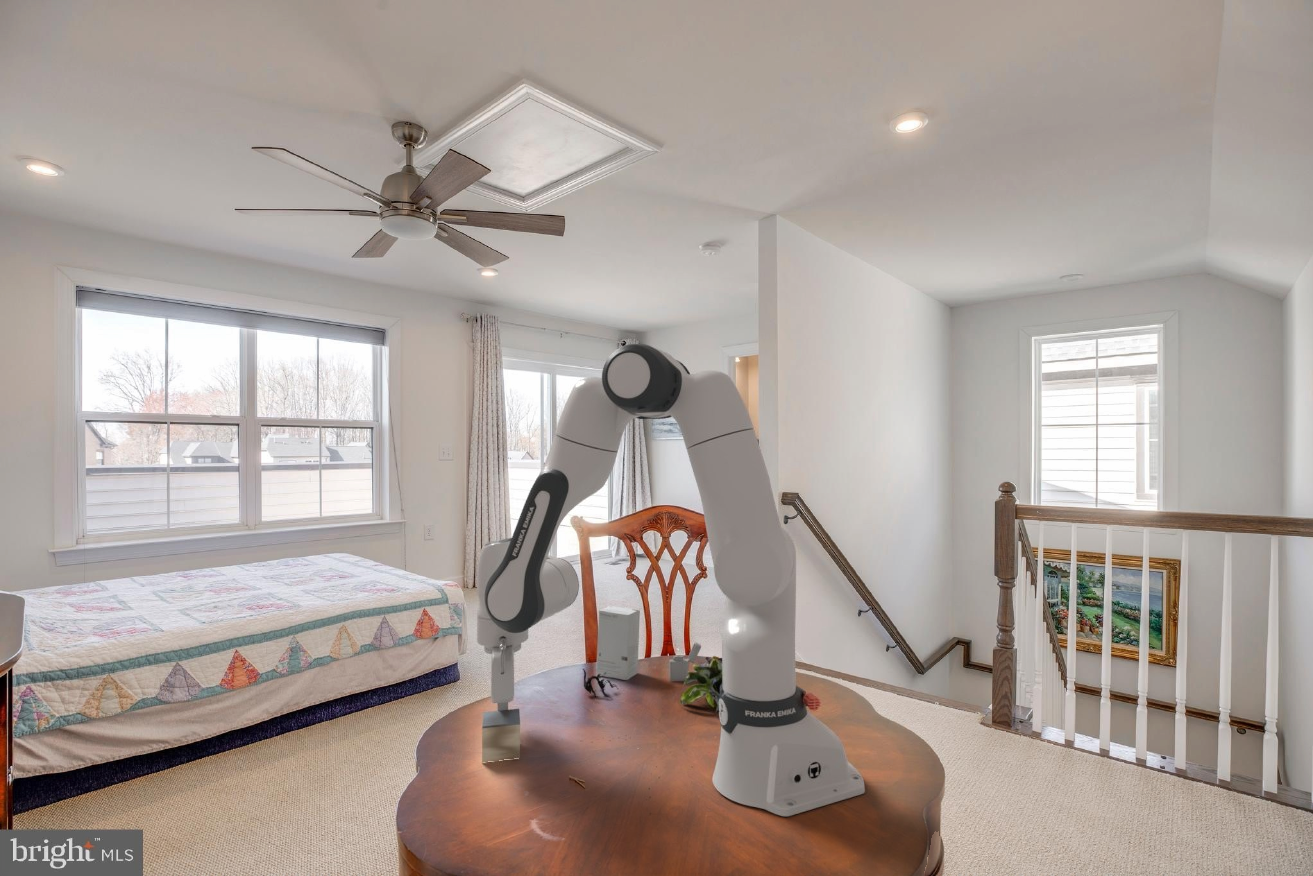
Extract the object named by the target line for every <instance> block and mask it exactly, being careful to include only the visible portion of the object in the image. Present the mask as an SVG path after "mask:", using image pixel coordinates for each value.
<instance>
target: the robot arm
mask: <svg viewBox="0 0 1313 876" xmlns="http://www.w3.org/2000/svg"><path fill="white" fill-rule="evenodd" d="M562 409H563V410H562V411H561V414H560V416H559V420H558V422H557V425H556V429H555V432H554V436H553V439H552V443H551V445H550V447H549V451H548V453H547V456H546V459H545V462H544V464H543V466H542V468H541V471H540V472H539V474H538V476H537V477H536V479H535V481H534V483H533V484H532V487H531V488H530V490H529V493H528V495H527V497H526V500H525V502H524V504H523V508H522V510H521V513H520V515H519V518H518V521H517V523H516V525H515V528H514V531H513V534H512V536H511V537H508V538H503V539H499V540H498V539H497V540H494V541H493V540H492V541H490V542H487V543H485V544H484V545H483V546H482V548H481V550H480V553H479V557H478V562H477V573H476V575H477V576H476V592H477V594H478V601H479V602H478V603H479V604H478V609H477V612H476V642H477V644H479V645H481V646H483V648H484V653H486V654H489V655H491V656H490V657H491V658H490V700H491V702H492V703H493V704H497V705H496V706H497V711H500V710H509V703H511V702H513V701H514V698H515V653H517V652H519V651H520V650H521V649H522V644H523V643H524V642H526V641H527V640H528V639H529V629H530V628H532V627H533V626H535V625H537V624H538V623H539V622H542V621H543V620H546V619H549V618H551V617H553V616H554V615H555V614H558V613H560V612H563V611H564V610H565V609H567V608H568V607H570V606H571V605H573V604H574V602H575V601H576V599H577V597H578V593H579V589H580V581H579V577H578V574H577V572H576V569H575V568H574V567H573V565H572V564H571V563H570V562H568V561H567V560H565V559H563V558H560V557H556V556H555V557H554V556H552V555H549V553H550V551H551V548H552V546H553V543H554V540H555V538H556V534H557V532H558V530H559V528H560V525H561V523H562V522H563V520H564V519H565V518H566V516H567V515H568V514H569V513H570V512H571V511H572V510H573V509H574V508H576V506H578V505H579V504H580V503H582V502H583V501H584V500H587V498H590V497H591V496H592V495H594V494H595V493H597V492H598V491H600V490H601V489H603V487H604V486H605V484H606V483H607V481H608V479H609V477H610V476H611V473H612V471H613V469H614V466H615V463H616V459H617V456H618V453H619V452H618V451H619V449H620V445H621V441H622V438H623V435H624V432H625V429H626V428H627V426H628V425H629V423H630V422H632V421H633V420H634V419H638V420H649V419H652V420H664V419H669V418H673V419H674V420H675V422H676V423H677V426H678V427H679V430H680V432H681V435H682V438H683V441H684V442H683V443H684V445H685V450H686V452H687V455H688V460H689V462H690V466H691V469H692V473H693V475H694V479H695V482H696V486H697V488H698V492H699V493H698V494H699V496H700V500H701V504H702V505H701V506H702V511H703V517H704V518H703V519H704V522H705V528H706V529H705V530H706V536H707V539H708V544H709V549H710V550H709V551H710V554H711V560H712V563H713V564H712V565H713V570H714V572H713V573H714V577H715V581H716V584H717V586H718V588H719V590H721V593H723V595H724V596H725V606H724V615H723V625H722V631H721V658H722V684H721V685H720V699H719V708H718V716H719V724H720V726H721V728H720V739H719V745H718V746H719V747H718V753H717V758H716V763H715V767H714V771H713V774H712V777H711V778H712V784H713V786H714V788H715V789H716V790H717V791H718V792H719V793H720V794H721V795H722V796H724V797H726V798H727V799H729V800H730V801H732V802H735V803H738V804H740V805H745V806H748V807H755V808H758V809H763V810H766V811H768V812H770V813H772V814H775V815H778V816H781V817H792V816H794V815H796V814H801V813H804V812H807V811H811V810H814V809H817V808H820V807H824V806H827V805H830V804H835V803H837V802H840V801H843V800H848V799H850V798H853V797H856V796H860V795H862V794H863V795H864V794H865V793H866V789H865V780H864V777H862V775H861V773H860V772H859V771H858V769H857V768H855V766H854V765H852V764H851V763H850V762H849V761H848V758H847V753H846V750H845V747H844V744H843V742H842V741H841V739H840V738H839V737H838V735H837V734H836V733H835V732H834V731H833V730H832V729H830V728H829V727H828V726H827V725H826V724H825V723H823V722H822V721H820V720H819V719H818V718H817V717H815V715H813V714H812V713H811V712H809V711H808V710H807V707H808V709H809V710H810V711H814V712H815V711H817V710H818V709H819V708H820V707H821V705H820V704H821V700H820V699H819V697H818V696H816V695H815V694H814V693H811V692H806V691H805V690H804V689H803V688H801V687H799V686H798V685H796V682H797V681H796V679H797V676H796V618H797V617H796V611H797V608H796V607H797V606H796V603H797V602H796V601H797V551H796V545H795V543H794V540H793V539H792V537H791V536H790V534H789V532H787V531H786V530H785V529H784V527H782V526H781V521H780V518H779V515H778V510H777V505H776V502H775V497H774V494H773V489H772V485H771V478H770V475H769V473H768V469H767V466H766V463H765V460H764V456H763V453H762V450H761V446H760V443H759V440H758V438H757V435H756V432H755V429H754V425H753V421H752V419H751V417H750V414H749V412H748V409H747V407H746V405H745V402H744V400H743V397H742V396H741V393H740V392H739V390H738V388H737V386H736V384H735V382H734V381H733V379H732V378H731V377H730V376H729V375H728V374H726V373H724V372H722V371H718V370H705V371H700V372H696V373H694V374H693V373H692V374H691V373H690V371H689V369H688V368H687V367H686V366H685V365H684V364H683V363H682V362H681V361H679V360H677V359H676V358H674V357H673V356H672V355H671V354H670V353H668V352H666V351H663V350H661V349H658V348H655V347H653V346H651V345H648V344H644V343H630V344H626V345H623V346H621V347H619V348H617V349H615V350H614V351H613V352H612V353H611V354H610V355H609V356H608V358H607V359H606V361H605V363H604V365H603V367H602V372H601V377H599V376H598V377H596V376H591V377H585V378H582V379H580V380H578V381H577V382H576V383H575V384H574V386H573V388H572V389H571V392H570V393H569V395H568V397H567V399H566V402H565V403H564V407H563V408H562Z"/></svg>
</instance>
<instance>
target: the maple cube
mask: <svg viewBox="0 0 1313 876" xmlns="http://www.w3.org/2000/svg"><path fill="white" fill-rule="evenodd" d="M520 717H521V714H520V708H512V709H508V710H500V711H498V710H493V711H484V712H483V714H482V727H481V731H482V732H481V735H482V736H481V742H482V743H481V744H482V745H481V748H482V749H481V764H482V763H483V762H488V761H499V760H504V759H514V758H520V759H521V719H520Z"/></svg>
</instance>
